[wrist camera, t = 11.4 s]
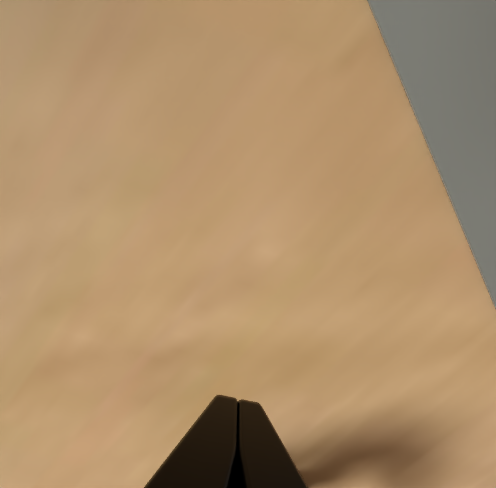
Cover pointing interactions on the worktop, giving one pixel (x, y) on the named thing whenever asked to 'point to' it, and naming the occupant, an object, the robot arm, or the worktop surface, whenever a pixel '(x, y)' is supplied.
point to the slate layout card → (453, 103)
